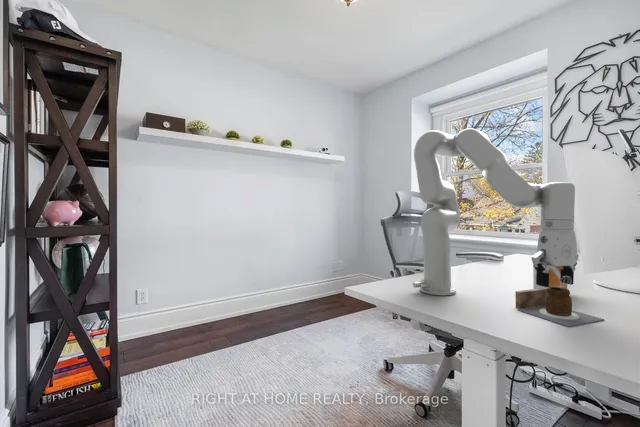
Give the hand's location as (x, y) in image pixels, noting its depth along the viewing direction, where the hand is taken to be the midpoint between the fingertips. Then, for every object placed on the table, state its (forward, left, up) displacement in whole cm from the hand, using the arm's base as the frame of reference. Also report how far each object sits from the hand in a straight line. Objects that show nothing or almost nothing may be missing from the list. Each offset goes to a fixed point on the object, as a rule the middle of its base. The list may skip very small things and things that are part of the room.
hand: (554, 284), depth 86 cm
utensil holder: (0, -1, -8) cm, 8 cm away
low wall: (+5, +8, -9) cm, 13 cm away
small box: (+21, +16, -9) cm, 28 cm away
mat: (0, -1, -9) cm, 9 cm away
